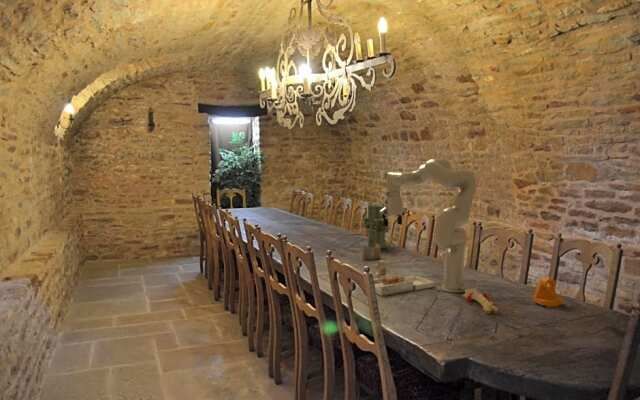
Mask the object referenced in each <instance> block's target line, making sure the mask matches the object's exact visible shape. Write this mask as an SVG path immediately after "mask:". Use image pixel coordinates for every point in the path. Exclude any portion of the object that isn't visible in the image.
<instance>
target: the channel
mask: <svg viewBox="0 0 640 400" xmlns="http://www.w3.org/2000/svg"><path fill="white" fill-rule="evenodd" d="M392 276H393V275H391V277H392ZM373 279H374V284H375V289H376V293H377V294H376V295H378V296H380V295H381V296H380V297H384V296H389V295H388V294H390V295H394V293H395V294H399V293H404V292H410V291H414V290H413V283H414V281H404V282H400V283H395V284H389V285H386V284H383V278H379V279H375V278H373ZM383 295H384V296H383Z"/></svg>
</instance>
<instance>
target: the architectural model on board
mask: <svg viewBox="0 0 640 400" xmlns="http://www.w3.org/2000/svg"><path fill="white" fill-rule="evenodd" d="M381 249H382V248H381V247H380V246H379V244H375V247H366V248H364V247H362V260H364V261H370V260H377V259H379V260H380V259H381Z"/></svg>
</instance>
